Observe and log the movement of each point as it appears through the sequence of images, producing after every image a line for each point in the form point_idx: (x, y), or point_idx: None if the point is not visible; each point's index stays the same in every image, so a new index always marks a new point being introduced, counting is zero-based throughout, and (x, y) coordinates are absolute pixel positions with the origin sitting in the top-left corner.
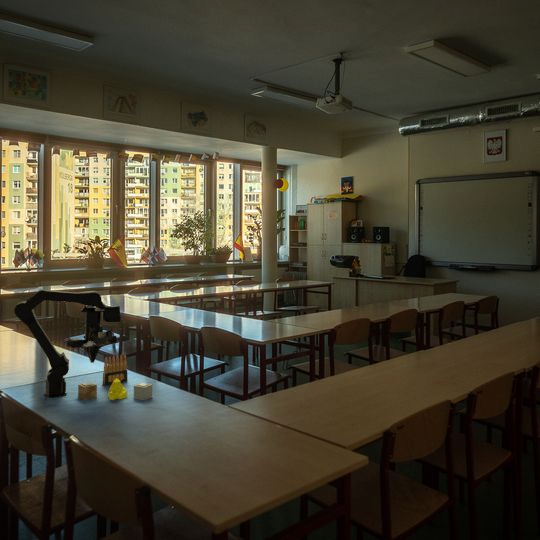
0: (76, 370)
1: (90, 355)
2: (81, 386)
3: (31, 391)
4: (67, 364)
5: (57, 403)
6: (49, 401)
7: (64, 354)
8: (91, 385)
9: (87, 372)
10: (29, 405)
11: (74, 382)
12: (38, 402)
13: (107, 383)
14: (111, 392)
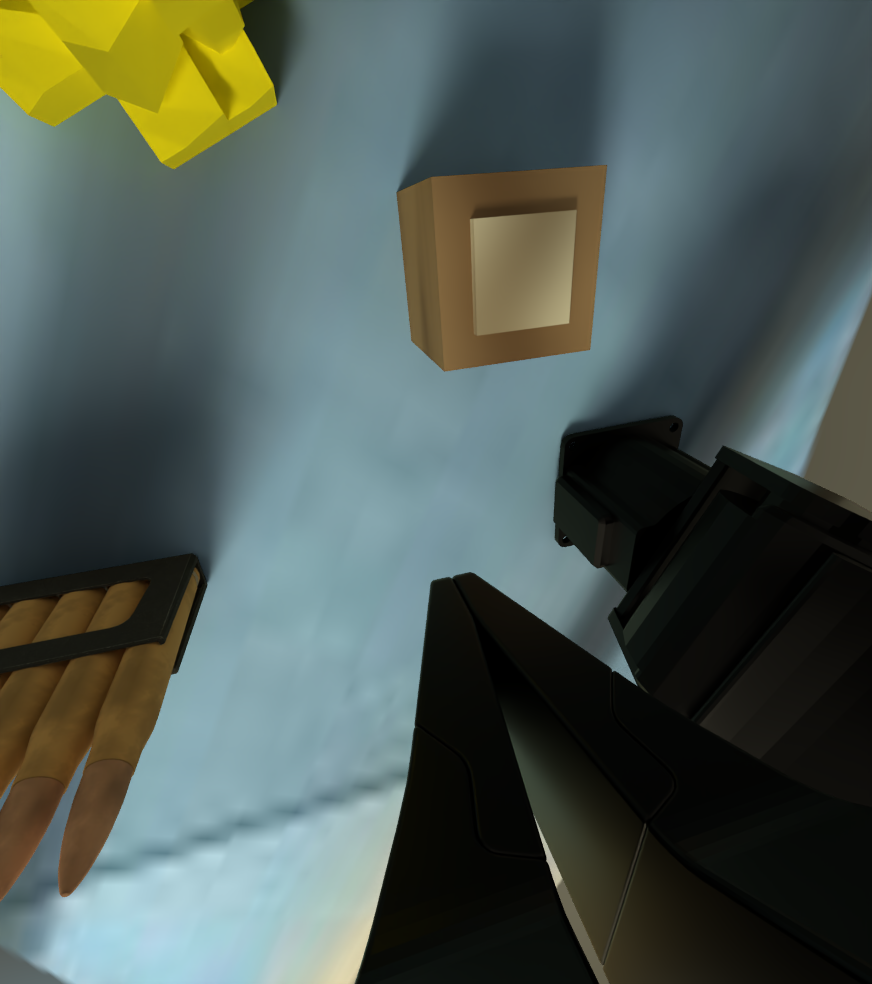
0: (282, 884)
1: (605, 673)
2: (593, 266)
3: None
4: (806, 577)
5: (726, 243)
6: (724, 339)
7: (843, 799)
8: (501, 202)
9: (230, 853)
10: (845, 322)
11: (383, 693)
12: (775, 359)
13: (160, 568)
14: (233, 40)
